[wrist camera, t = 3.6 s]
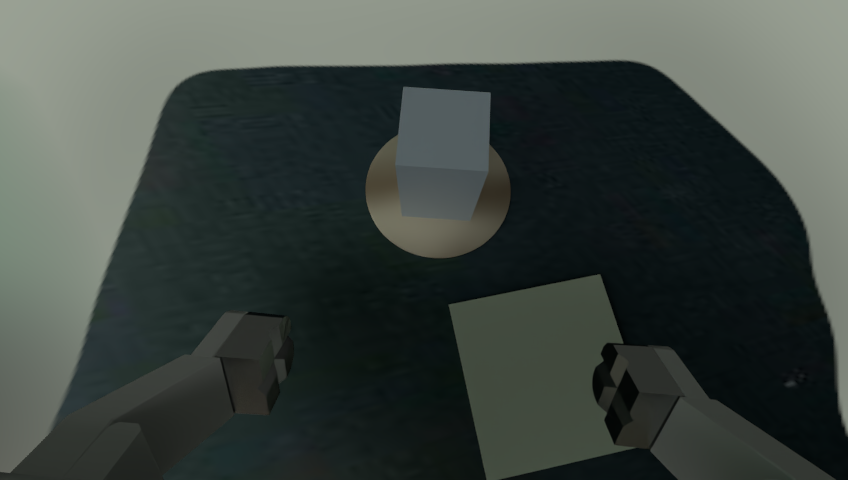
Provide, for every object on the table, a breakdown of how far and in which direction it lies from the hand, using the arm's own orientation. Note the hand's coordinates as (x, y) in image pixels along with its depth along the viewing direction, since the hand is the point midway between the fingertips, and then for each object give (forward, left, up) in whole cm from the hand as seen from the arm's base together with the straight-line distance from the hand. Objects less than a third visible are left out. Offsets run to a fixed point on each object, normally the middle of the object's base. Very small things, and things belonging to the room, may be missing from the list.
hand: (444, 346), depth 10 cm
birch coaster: (+11, -3, -14) cm, 18 cm away
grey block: (+11, -3, -14) cm, 18 cm away
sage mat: (-2, -7, -14) cm, 16 cm away
